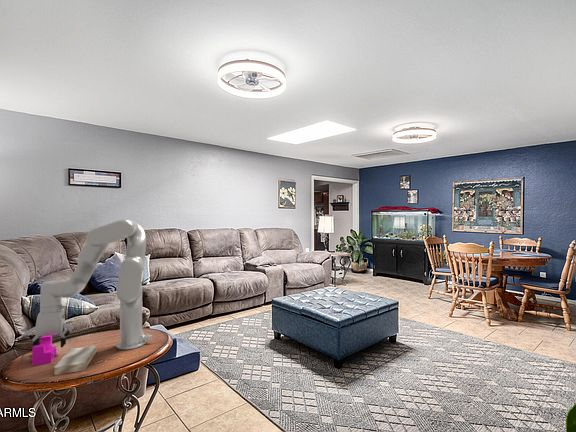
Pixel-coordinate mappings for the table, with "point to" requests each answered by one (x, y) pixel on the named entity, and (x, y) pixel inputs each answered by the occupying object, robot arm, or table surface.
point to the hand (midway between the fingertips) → (49, 347)
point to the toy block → (43, 351)
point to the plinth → (75, 360)
